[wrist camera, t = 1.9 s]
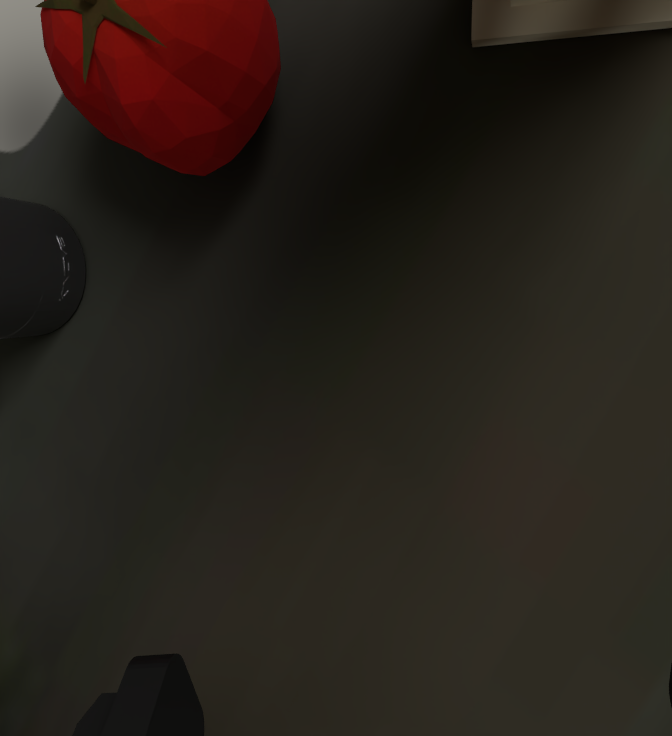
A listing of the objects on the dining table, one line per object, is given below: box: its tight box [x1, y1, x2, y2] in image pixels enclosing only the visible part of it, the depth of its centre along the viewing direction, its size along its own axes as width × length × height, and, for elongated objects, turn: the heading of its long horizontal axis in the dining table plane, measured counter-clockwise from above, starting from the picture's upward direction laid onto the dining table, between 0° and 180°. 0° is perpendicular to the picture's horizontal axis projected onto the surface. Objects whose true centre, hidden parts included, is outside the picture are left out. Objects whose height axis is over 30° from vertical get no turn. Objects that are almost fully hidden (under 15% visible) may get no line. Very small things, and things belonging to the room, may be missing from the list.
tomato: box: [36, 0, 281, 176], centre depth 33 cm, size 12×12×13 cm
